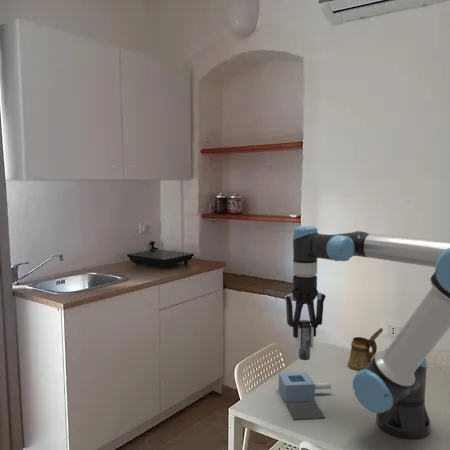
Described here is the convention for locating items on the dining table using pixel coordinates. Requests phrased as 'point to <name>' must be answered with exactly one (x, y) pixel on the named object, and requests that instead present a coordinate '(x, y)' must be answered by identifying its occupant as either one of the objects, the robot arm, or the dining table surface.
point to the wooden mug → (362, 351)
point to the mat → (305, 411)
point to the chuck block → (299, 387)
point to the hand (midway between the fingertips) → (304, 346)
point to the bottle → (305, 340)
